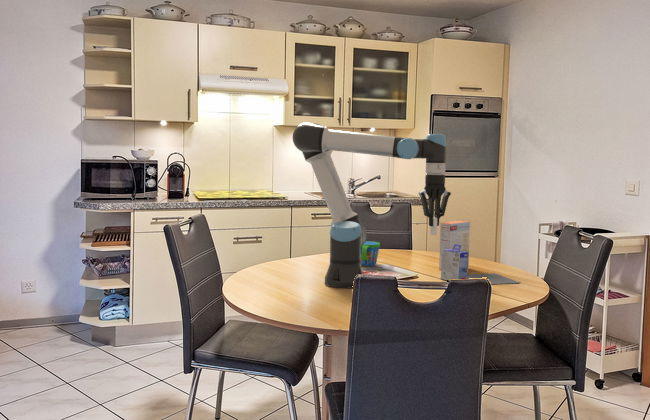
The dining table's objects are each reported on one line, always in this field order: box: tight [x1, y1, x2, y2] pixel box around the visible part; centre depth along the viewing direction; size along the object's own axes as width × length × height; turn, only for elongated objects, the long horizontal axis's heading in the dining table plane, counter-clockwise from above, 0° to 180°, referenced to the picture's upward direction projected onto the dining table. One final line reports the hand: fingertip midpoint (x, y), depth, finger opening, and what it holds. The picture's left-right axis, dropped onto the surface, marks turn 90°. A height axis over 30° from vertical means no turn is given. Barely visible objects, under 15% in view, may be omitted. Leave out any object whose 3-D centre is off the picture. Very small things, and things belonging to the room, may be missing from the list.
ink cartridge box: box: [440, 244, 470, 281], centre depth 236 cm, size 10×6×14 cm, turn 36°
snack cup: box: [360, 240, 381, 267], centre depth 265 cm, size 16×10×10 cm
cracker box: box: [438, 220, 471, 271], centre depth 260 cm, size 14×6×21 cm, turn 130°
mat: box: [467, 272, 521, 285], centre depth 240 cm, size 20×18×1 cm
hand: (433, 234), depth 232 cm, fingers closed
